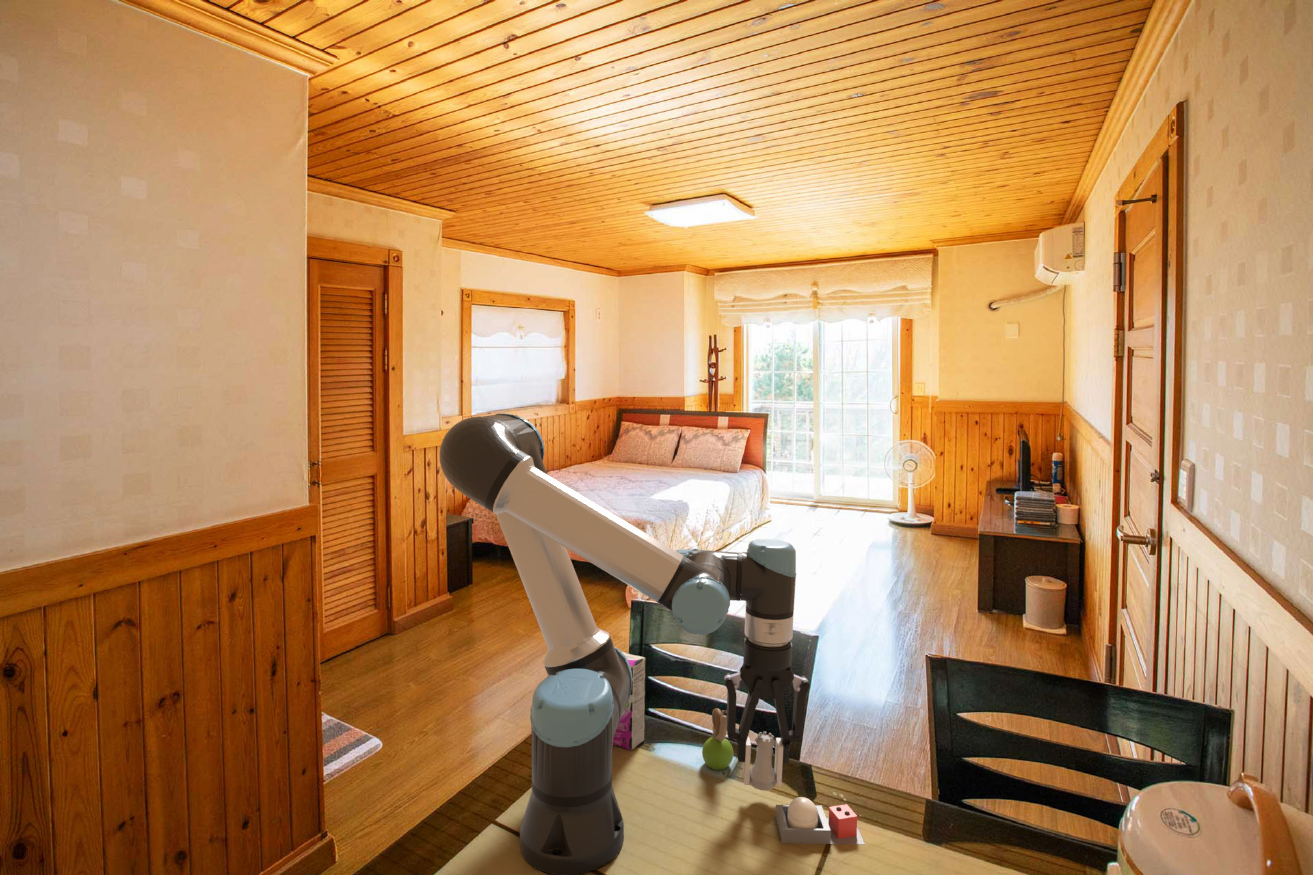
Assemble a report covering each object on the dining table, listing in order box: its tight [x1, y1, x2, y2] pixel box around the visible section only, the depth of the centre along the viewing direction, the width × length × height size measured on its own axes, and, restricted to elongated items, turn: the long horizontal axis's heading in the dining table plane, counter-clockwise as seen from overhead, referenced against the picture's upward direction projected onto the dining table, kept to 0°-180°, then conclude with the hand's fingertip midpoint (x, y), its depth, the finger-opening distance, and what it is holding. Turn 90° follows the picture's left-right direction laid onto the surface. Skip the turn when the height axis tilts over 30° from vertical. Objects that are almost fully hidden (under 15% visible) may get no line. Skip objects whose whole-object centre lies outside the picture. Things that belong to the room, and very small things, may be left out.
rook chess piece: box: [749, 731, 776, 791], centre depth 110 cm, size 4×4×8 cm
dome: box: [787, 796, 818, 829], centre depth 103 cm, size 4×4×4 cm
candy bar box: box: [612, 651, 646, 752], centre depth 130 cm, size 11×5×16 cm, turn 60°
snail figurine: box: [701, 707, 734, 771], centre depth 120 cm, size 5×6×12 cm
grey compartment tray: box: [775, 803, 866, 846], centre depth 103 cm, size 12×6×4 cm, turn 89°
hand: (761, 780), depth 110 cm, fingers closed on rook chess piece, 4 cm apart
